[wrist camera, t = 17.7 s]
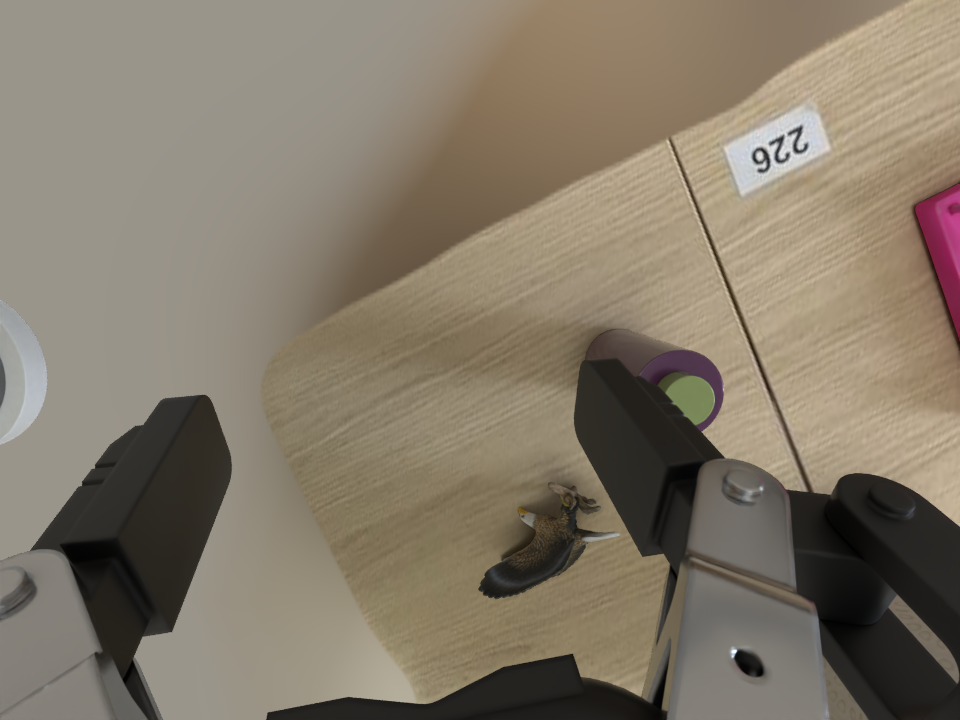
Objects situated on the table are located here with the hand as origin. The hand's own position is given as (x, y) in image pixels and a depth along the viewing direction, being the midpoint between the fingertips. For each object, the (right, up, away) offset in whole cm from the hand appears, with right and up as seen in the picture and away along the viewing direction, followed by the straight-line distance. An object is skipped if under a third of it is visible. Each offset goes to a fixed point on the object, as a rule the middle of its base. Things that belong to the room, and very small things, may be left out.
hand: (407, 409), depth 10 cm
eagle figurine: (+6, -12, +26) cm, 29 cm away
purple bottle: (+12, +1, +24) cm, 26 cm away
